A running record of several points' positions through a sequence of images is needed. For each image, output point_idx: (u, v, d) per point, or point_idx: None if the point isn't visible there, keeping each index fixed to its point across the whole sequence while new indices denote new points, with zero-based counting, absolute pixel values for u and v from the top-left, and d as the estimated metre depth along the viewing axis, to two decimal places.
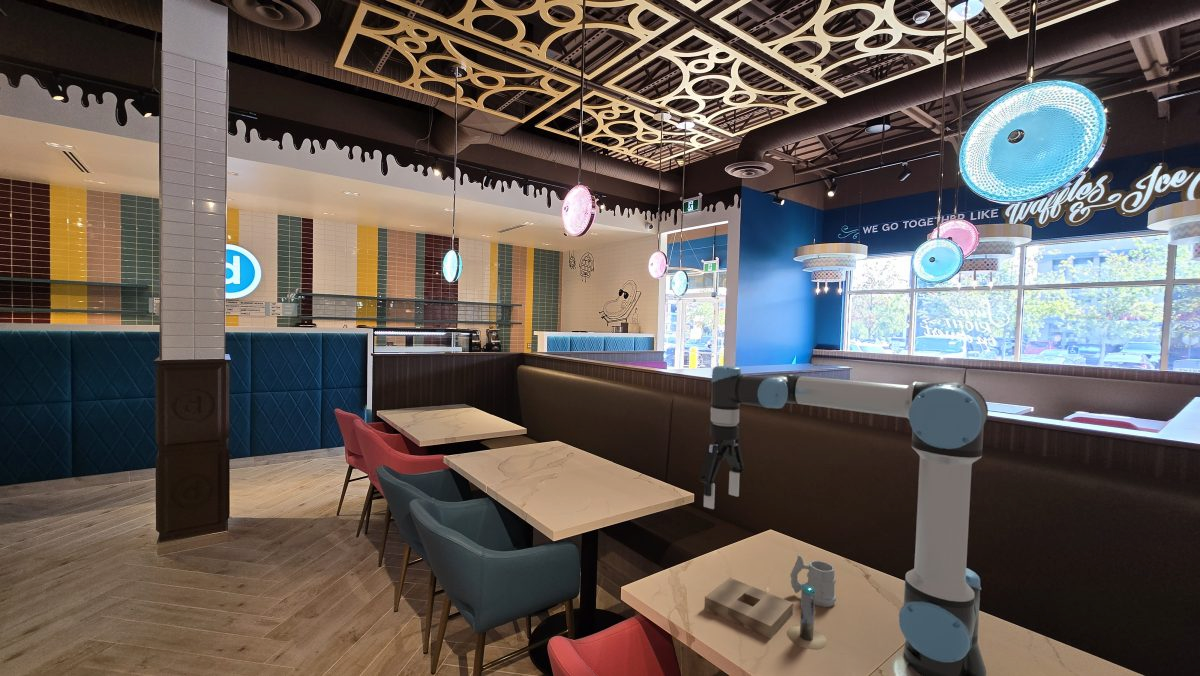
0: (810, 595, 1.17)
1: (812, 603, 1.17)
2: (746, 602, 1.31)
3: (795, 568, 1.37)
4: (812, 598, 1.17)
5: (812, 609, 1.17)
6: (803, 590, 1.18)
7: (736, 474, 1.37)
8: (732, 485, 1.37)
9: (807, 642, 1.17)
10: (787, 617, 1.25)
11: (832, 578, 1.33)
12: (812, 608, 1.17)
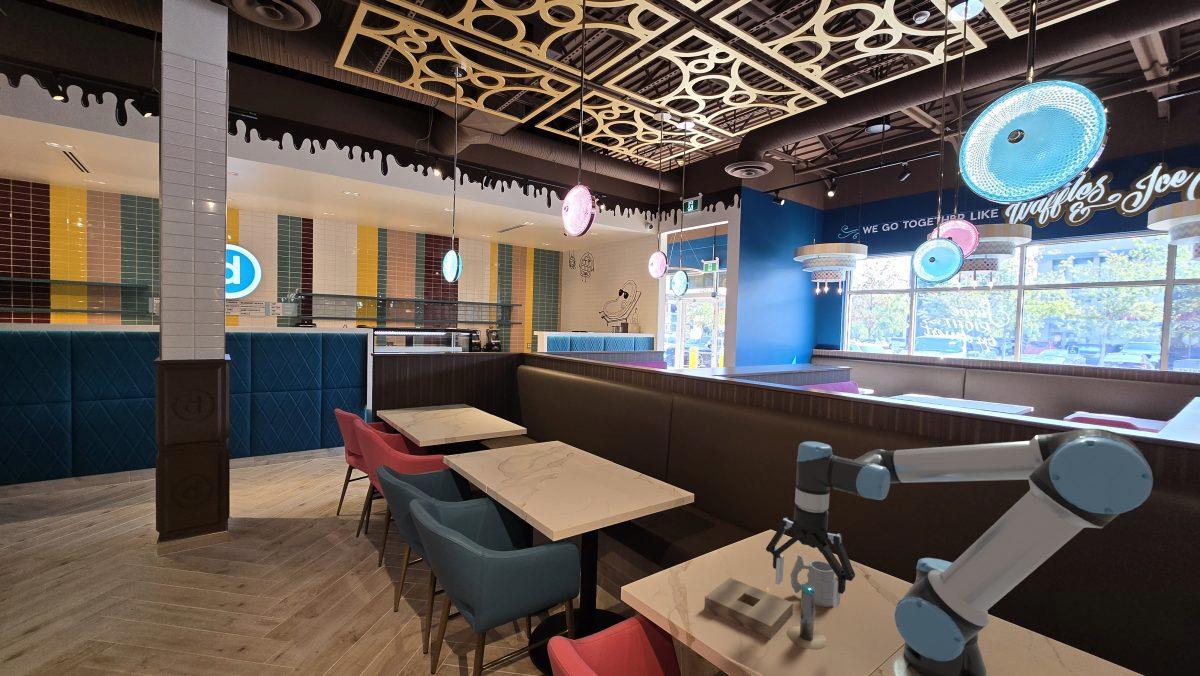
0: (810, 595, 1.17)
1: (812, 603, 1.17)
2: (746, 602, 1.31)
3: (795, 568, 1.37)
4: (812, 598, 1.17)
5: (812, 609, 1.17)
6: (803, 590, 1.18)
7: None
8: None
9: (807, 642, 1.17)
10: (787, 617, 1.25)
11: (832, 578, 1.33)
12: (812, 608, 1.17)
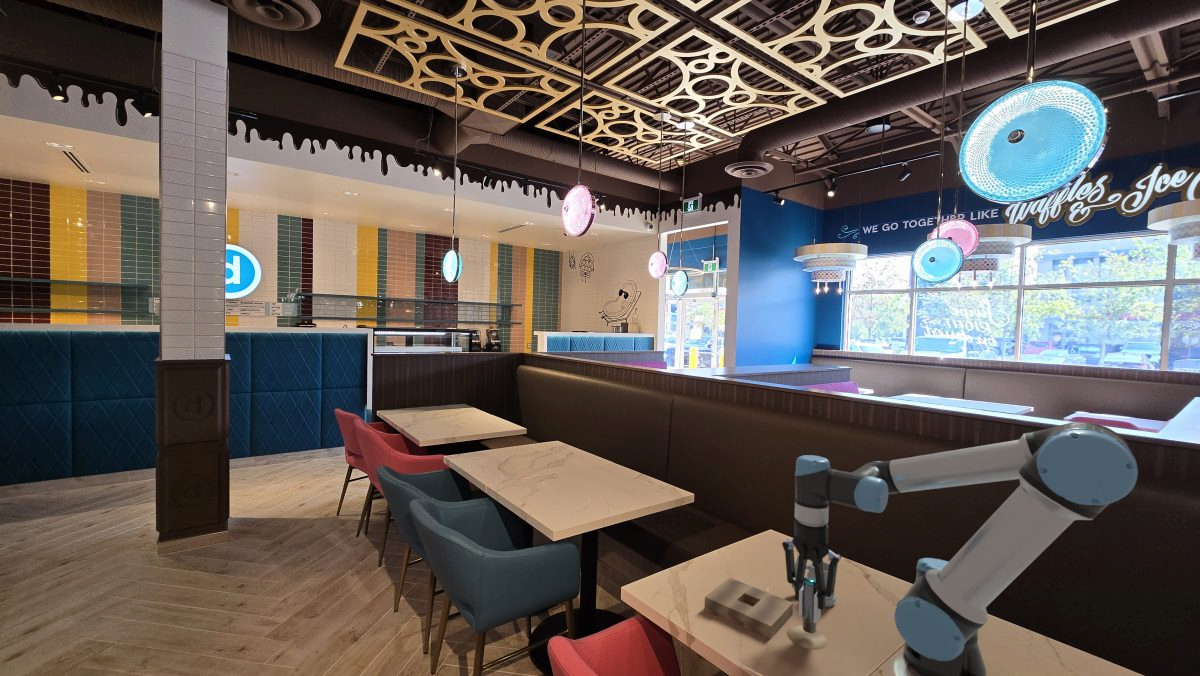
0: (812, 587, 1.17)
1: None
2: (746, 602, 1.31)
3: (795, 568, 1.37)
4: (814, 590, 1.17)
5: None
6: (805, 582, 1.18)
7: None
8: None
9: (807, 642, 1.17)
10: (787, 617, 1.25)
11: None
12: None
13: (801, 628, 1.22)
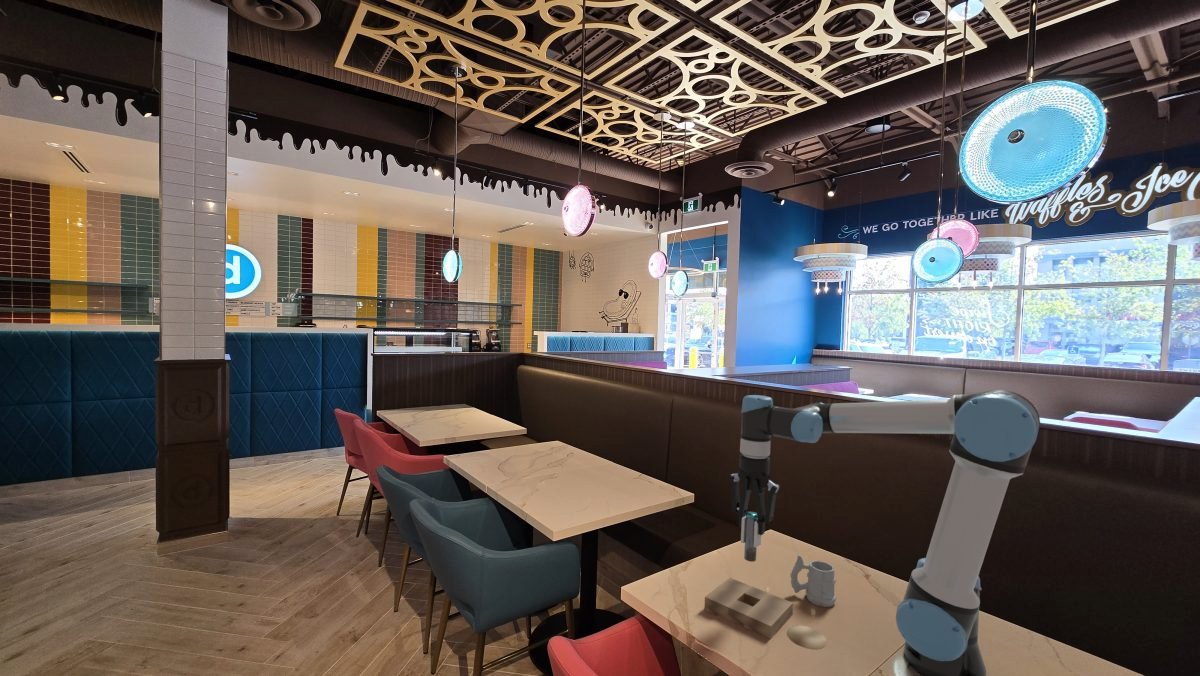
0: (753, 519, 1.27)
1: None
2: (746, 602, 1.31)
3: (795, 568, 1.37)
4: (754, 522, 1.27)
5: None
6: (747, 515, 1.28)
7: None
8: None
9: (807, 642, 1.17)
10: (787, 617, 1.25)
11: (832, 578, 1.33)
12: None
13: (801, 628, 1.22)
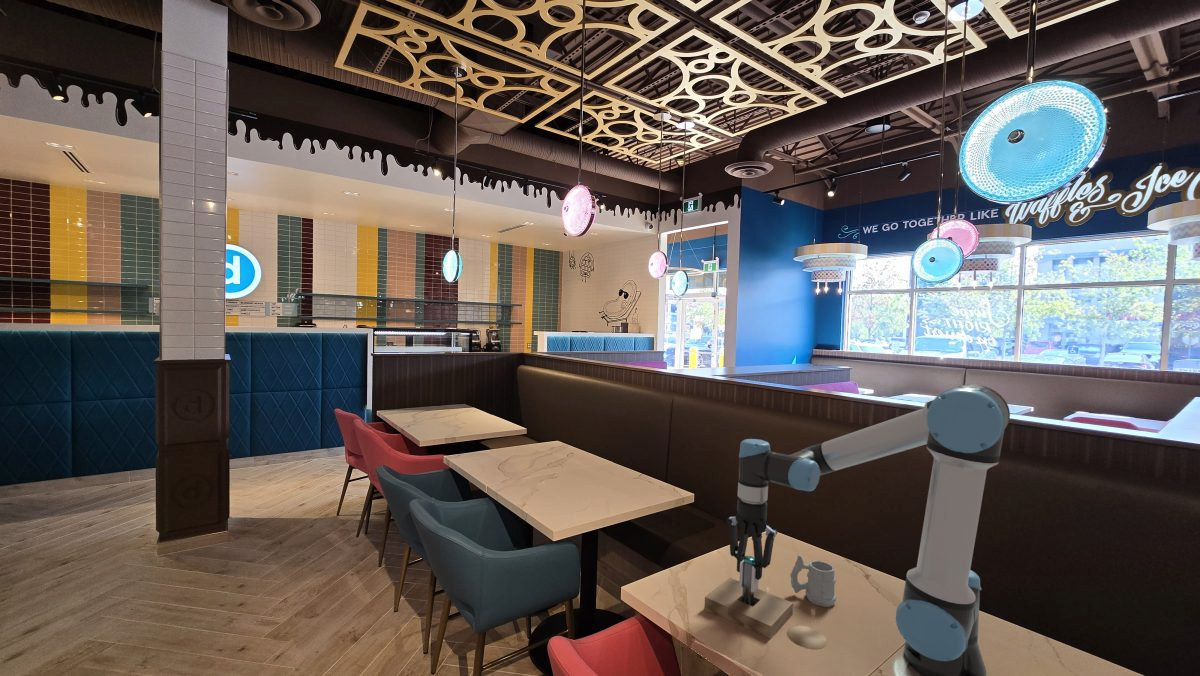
0: (750, 565, 1.27)
1: None
2: None
3: (795, 568, 1.37)
4: None
5: None
6: (745, 560, 1.28)
7: None
8: None
9: (807, 642, 1.17)
10: (787, 617, 1.25)
11: (832, 578, 1.33)
12: None
13: (801, 628, 1.22)
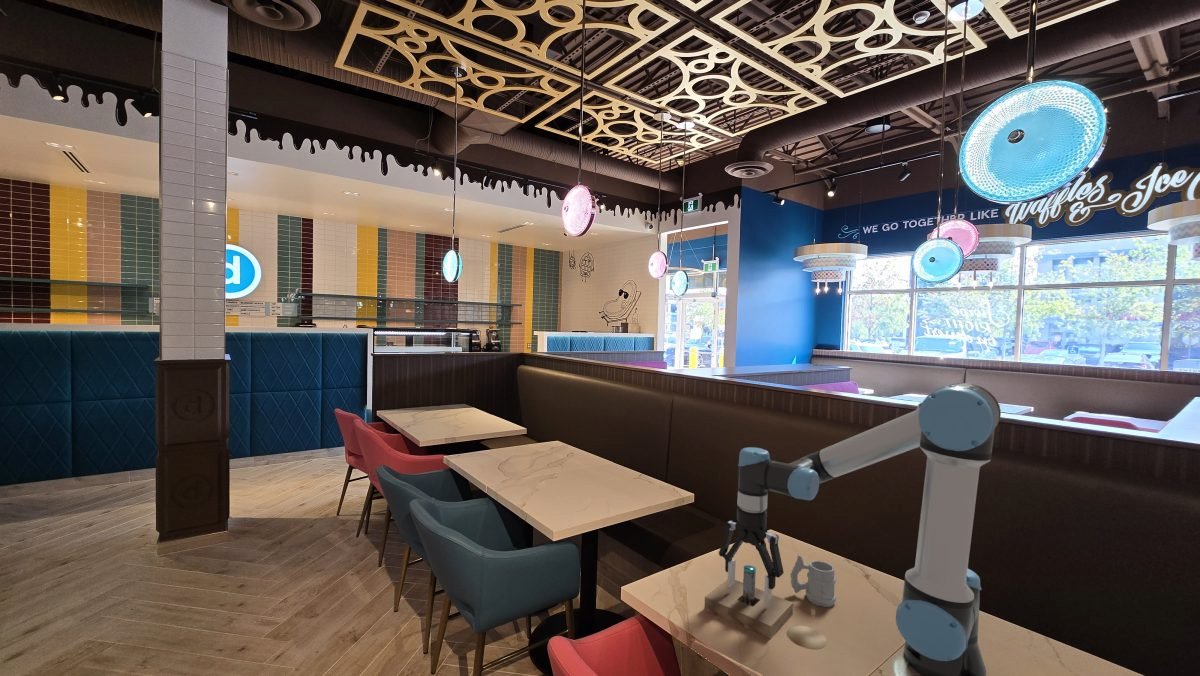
0: (750, 574, 1.27)
1: (752, 581, 1.27)
2: None
3: (795, 568, 1.37)
4: (752, 577, 1.27)
5: (753, 587, 1.27)
6: (745, 570, 1.28)
7: None
8: None
9: (807, 642, 1.17)
10: (787, 617, 1.25)
11: (832, 578, 1.33)
12: (753, 586, 1.27)
13: (801, 628, 1.22)
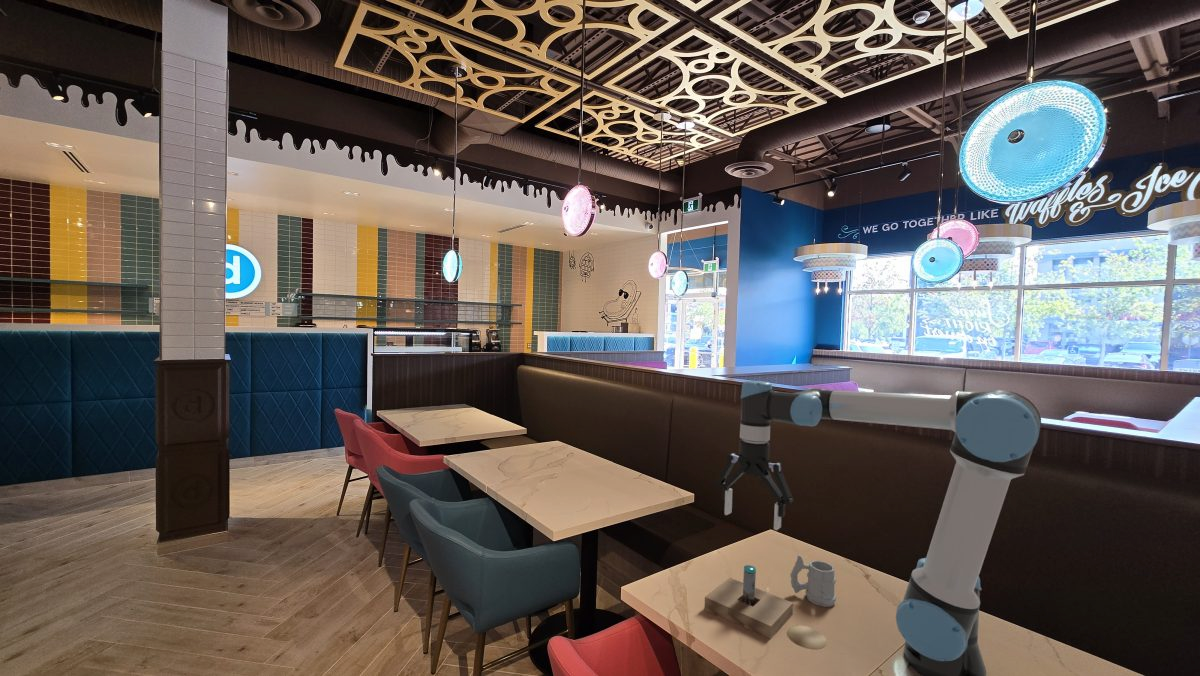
0: (750, 574, 1.27)
1: (753, 581, 1.27)
2: None
3: (795, 568, 1.37)
4: (752, 577, 1.27)
5: (753, 587, 1.27)
6: (745, 570, 1.28)
7: None
8: None
9: (807, 642, 1.17)
10: (787, 617, 1.25)
11: (832, 578, 1.33)
12: (753, 586, 1.27)
13: (801, 628, 1.22)
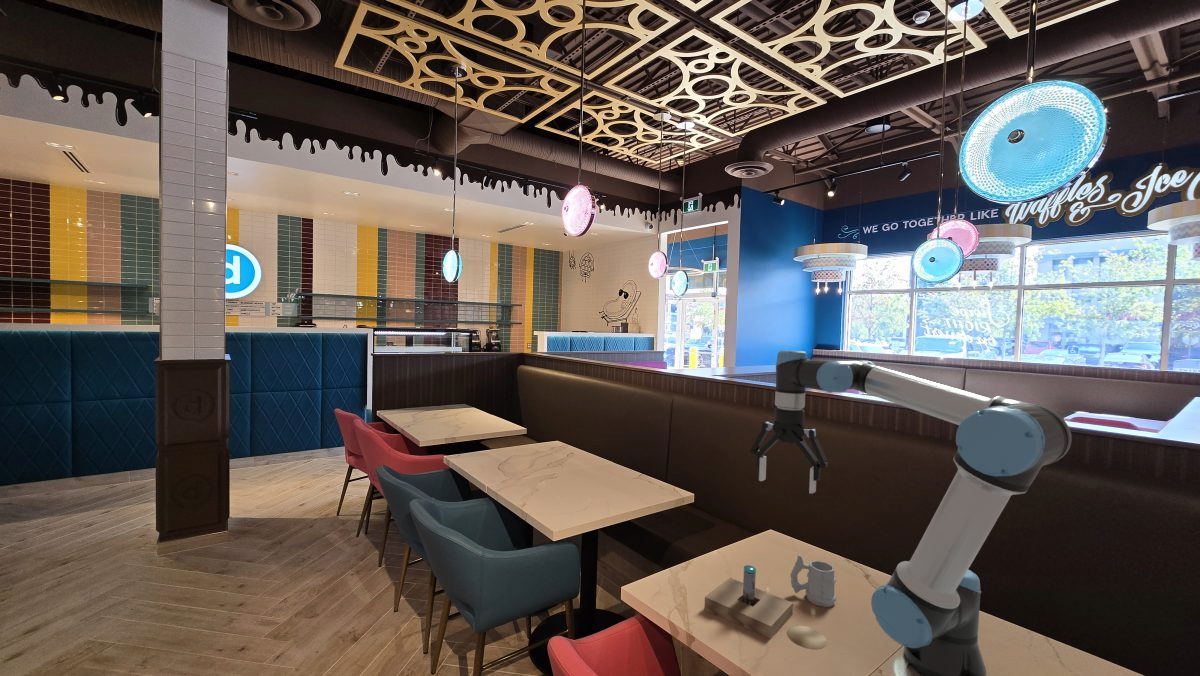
0: (750, 574, 1.27)
1: (752, 581, 1.27)
2: None
3: (795, 568, 1.37)
4: (752, 577, 1.27)
5: (753, 587, 1.27)
6: (745, 570, 1.28)
7: None
8: None
9: (807, 642, 1.17)
10: (787, 617, 1.25)
11: (832, 578, 1.33)
12: (753, 586, 1.27)
13: (801, 628, 1.22)
